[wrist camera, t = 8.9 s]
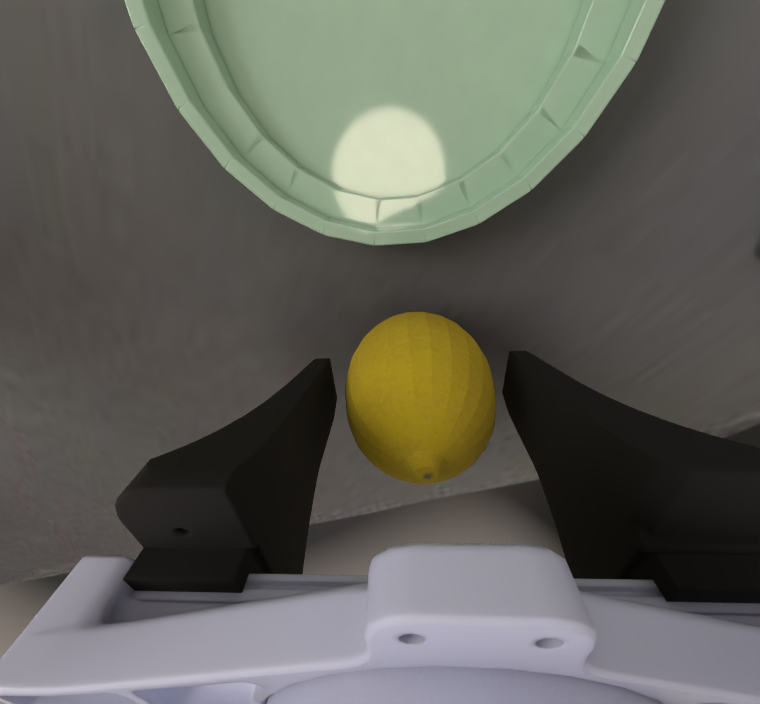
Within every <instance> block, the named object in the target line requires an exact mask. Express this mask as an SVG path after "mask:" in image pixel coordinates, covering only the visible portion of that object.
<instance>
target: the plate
mask: <svg viewBox="0 0 760 704" xmlns="http://www.w3.org/2000/svg"><path fill="white" fill-rule="evenodd" d="M124 1H125V4H126V7H127V9H128V12H129V15H130V18H131V21H132V24H133V27H134V28H135V29H136V30H135V31H136V33H137V35H138V37H139V39H140V40H141V42H142V44H143V46H144V48H145V50H146V52H147V53H148V55H149V57H150V59H151V61H152V63H153V65H154V67H155V68H156V70H157V72H158V74H159V76H160V78H161V80H162V81H163V83H164V85H165V87H166V89H167V91H168V93H169V94H170V96H171V98H172V100H173V102H174V104H175V106H176V108H177V109H178V110H179V112H180V113H181V115H182V116H183V117H184V118H185V120H186V121H187V122H188V123H189V125H190V126H191V127H192V128H193V130H194V131H195V132H196V133H197V135H198V136H199V137H200V139H201V140H202V141H203V142H204V144H205V145H206V146H207V147H208V149H209V150H210V151H211V152H212V154H213V155H214V156H215V157H216V159H217V160H218V161H219V162H220V164H221V165H222V166H223V168H225V169H226V171H227V172H229V173H230V174H231V175H232V176H233V177H235V178H236V179H237V180H238V181H239V182H241V183H242V184H243V185H244V186H245V187H247V188H248V189H249V190H250V191H251V192H253V193H254V194H255V195H256V196H257V197H259V198H260V199H261V200H262V201H263V202H264V203H266V204H267V205H268V206H269V207H270V208H272V209H274V210H275V211H276V212H278V213H280V214H282V215H284V216H286V217H288V218H290V219H292V220H294V221H296V222H298V223H300V224H302V225H304V226H306V227H308V228H310V229H312V230H314V231H316V232H318V233H320V234H322V235H325V236H329V237H334V238H339V239H344V240H348V241H353V242H358V243H363V244H368V245H372V246H374V245H375V246H381V245H396V244H411V243H425V242H429V241H432V240H435V239H438V238H441V237H444V236H447V235H450V234H452V233H455V232H458V231H461V230H464V229H467V228H470V227H473V226H476V225H478V224H480V223H482V222H483V221H485V220H486V219H488V218H490V217H491V216H493V215H494V214H496V213H497V212H499V211H500V210H502V209H504V208H505V207H507V206H508V205H510V204H511V203H513V202H514V201H516V200H518V199H519V198H521V197H522V196H524V195H525V194H527V193H528V192H530V191H531V190H532V189H534V188H535V187H536V186H537V185H538V184H539V183H540V182H541V181H542V180H543V179H544V178H545V177H546V176H547V175H548V174H549V173H550V172H551V171H552V170H553V169H554V168H555V167H556V166H557V165H558V164H559V163H560V162H561V161H562V160H563V159H564V158H565V157H566V156H567V155H568V154H569V153H570V152H571V151H572V150H573V149H574V148H575V147H576V146H577V145H578V144H579V143H580V142H581V141H582V140H583V138H584V137H585V136H586V135H587V133H588V132H589V130H590V129H591V128H592V126H593V125H594V123H595V122H596V120H597V119H598V117H599V116H600V115H601V113H602V112H603V110H604V109H605V107H606V106H607V104H608V103H609V101H610V100H611V99H612V97H613V96H614V94H615V93H616V91H617V90H618V88H619V87H620V85H621V84H622V83H623V81H624V80H625V78H626V77H627V75H628V74H629V72H630V71H631V69H632V68H633V67H634V65H635V62H636V61H637V60H638V58H639V56H640V54H641V52H642V50H643V47H644V45H645V43H646V41H647V39H648V37H649V35H650V32H651V30H652V28H653V26H654V24H655V22H656V20H657V17H658V15H659V13H660V11H661V9H662V7H663V5H664V2H665V0H124Z"/></svg>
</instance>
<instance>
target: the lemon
mask: <svg viewBox="0 0 760 704" xmlns="http://www.w3.org/2000/svg"><path fill="white" fill-rule="evenodd" d="M345 394H346V409H347V417H348V422H349V426H350V429H351V431H352V433H353V436H354V438H355V441H356V443H357V445H358V447H359V448H360V450H361V451H362V452H363V454H364V455H365V456H366V457H367V459H368V460H369V461H370V462H371V463H372V464H374V465H375V466H376V467H377V468H379V469H380V470H381V471H383V472H384V473H386V474H388V475H390V476H392V477H394V478H397V479H399V480H402V481H406V482H410V483H420V484H427V483H437V482H441V481H445V480H448V479H450V478H452V477H455V476H457V475H459V474H460V473H462V472H463V471H464V470H466V469H467V468H469V467H470V466H471V465H472V464H473V463H474V462H475V461H476V460H477V459H478V457H479V456H480V455H481V454H482V453H483V451H484V450H485V448H486V446H487V444H488V442H489V439H490V437H491V435H492V433H493V429H494V424H495V414H496V392H495V386H494V382H493V378H492V375H491V371H490V367H489V364H488V361H487V359H486V357H485V356H484V354H483V352H482V351H481V349H480V348H479V346H478V345H477V343H476V342H475V340H474V339H473V338H472V337H471V336H470V335H469V334H468V333H467V332H466V331H465V330H464V329H463V328H461V327H460V326H459V325H458V324H457V323H455V322H453V321H451V320H449V319H447V318H445V317H443V316H441V315H437V314H432V313H427V312H406V313H402V314H399V315H395V316H392V317H390V318H388V319H386V320H385V321H383V322H381V323H379V324H377V325H376V326H375V327H374V328H373V329H372V330H371V331H370V332H369V333H368V334H367V335H366V336H365V337H364V338H363V339H362V341H361V343H360V344H359V346H358V348H357V349H356V351H355V353H354V355H353V357H352V359H351V362H350V366H349V370H348V374H347V379H346V385H345Z"/></svg>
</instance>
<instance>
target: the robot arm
mask: <svg viewBox="0 0 760 704" xmlns="http://www.w3.org/2000/svg"><path fill="white" fill-rule="evenodd" d="M502 393H503V396H504V400H505V403H506V406H507V409H508V412H509V415H510V417H511V419H512V421H513V423H514V425H515V427H516V429H517V432H518V434H519V436H520V438H521V440H522V442H523V444H524V446H525V448H526V450H527V452H528V454H529V456H530V458H531V460H532V462H533V464H534V466H535V469H536V471H537V473H538V476H539V479H540V482H541V484H542V487H543V490H544V493H545V495H546V498H547V501H548V504H549V507H550V510H551V513H552V516H553V519H554V522H555V525H556V528H557V532H558V535H559V538H560V541H561V544H562V548H563V551H564V554H565V558H566V560H565V559H563V558H562V557H560V556H559V555H557V554H555V553H554V552H552V551H551V550H549V549H547V548H545V547H540V546H534V545H527V544H472V543H471V544H470V543H468V544H467V543H466V544H465V543H410V544H403V545H396V546H391V547H389V548H387V549H386V550H384V551H382V552H380V553H378V554H377V555H376V556H374V557H373V559H372V562H371V565H370V567H369V574H368V575H307V574H302V573H303V565H304V557H305V549H306V542H307V536H308V528H309V522H310V516H311V510H312V504H313V498H314V492H315V487H316V481H317V476H318V472H319V468H320V464H321V460H322V457H323V454H324V450H325V447H326V443H327V440H328V437H329V433H330V430H331V426H332V423H333V419H334V414H335V408H336V401H337V395H336V390H335V384H334V379H333V373H332V368H331V362H330V358H325V359H315V360H313V361H312V362H311V363H310V364H309V365H308V366H307V367H305V368H304V369H303V370H302V371H301V372H300V373H299V374H298V375H297V376H296V377H295V378H293V379H292V380H291V381H290V382H289V383H288V384H287V385H285V386H284V387H283V388H282V389H280V390H279V391H278V392H277V393H276V394H274V395H273V396H272V397H271V398H269V399H268V400H267V401H265V402H264V403H263V404H261V405H260V406H258V407H257V408H255V409H254V410H252V411H251V412H249V413H248V414H246V415H245V416H243V417H241V418H239V419H238V420H236V421H234V422H232V423H231V424H229V425H227V426H225V427H224V428H222V429H220V430H218V431H216V432H214V433H212V434H210V435H208V436H206V437H204V438H202V439H199V440H197V441H195V442H193V443H191V444H188V445H186V446H184V447H181V448H178V449H176V450H173V451H171V452H168V453H166V454H163V455H161V456H158V457H156V458H153V459H150V460H149V461H148V463H147V464H146V465H145V466H144V467H143V468H142V470H141V471H140V472H139V473H138V474H137V476H136V477H135V478H134V479H133V480H132V481H131V483H130V484H129V485H128V486H127V487H126V488H125V490H124V491H123V492H122V493H121V494H120V496H119V497H118V498H117V501H116V504H115V507H116V511H117V516H118V517H119V519H120V520H121V522H122V523H123V524H124V525H125V527H126V528H127V529H128V530H129V531H130V532H131V533H132V535H133V536H134V537H135V538H136V539H137V540H138V541H139V543H140V544H141V545H142V546H143V547H144V548H143V550H142V551H141V553H140V554H139V556H138V557H137V559H136V560H134V559H132V558H129V557H126V556H100V555H88V556H85V557H83V558H82V559H81V560H80V562H79V563H78V564H77V565H76V567H75V568H74V569H73V570H72V571H71V573H70V574H69V575H68V576H67V578H66V579H65V580H64V581H63V583H62V584H61V585H60V586H59V588H58V589H57V590H56V591H55V592H54V594H53V595H52V596H51V598H50V599H49V600H48V601H47V602H46V604H45V605H44V606H43V607H42V609H41V610H40V611H39V612H38V614H37V615H36V616H35V617H34V618H33V620H32V621H31V622H30V624H29V625H28V626H27V627H26V628H25V630H24V631H23V632H22V633H21V635H20V636H19V637H18V638H17V640H16V641H15V642H14V643H13V644H12V646H11V647H10V648H9V649H8V651H7V652H6V653H5V654H4V656H3V657H2V658H1V659H0V701H1V702H3V703H6V704H760V448H757V447H754V446H750V445H747V444H743V443H739V442H735V441H731V440H727V439H723V438H720V437H716V436H712V435H709V434H706V433H703V432H699V431H696V430H693V429H690V428H686V427H683V426H680V425H677V424H674V423H671V422H668V421H665V420H663V419H660V418H657V417H655V416H652V415H649V414H647V413H644V412H641V411H639V410H636V409H634V408H631V407H629V406H627V405H624V404H622V403H620V402H618V401H615V400H613V399H611V398H609V397H607V396H605V395H602V394H600V393H598V392H596V391H595V390H593V389H591V388H589V387H587V386H585V385H583V384H581V383H579V382H578V381H576V380H574V379H572V378H571V377H569V376H567V375H566V374H564V373H562V372H561V371H559V370H557V369H556V368H554V367H552V366H551V365H549V364H547V363H546V362H544V361H542V360H541V359H539V358H538V357H536V356H534V355H532V354H531V353H529V352H527V351H509V356H508V362H507V368H506V374H505V380H504V386H503V392H502ZM566 561H567V562H566Z"/></svg>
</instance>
